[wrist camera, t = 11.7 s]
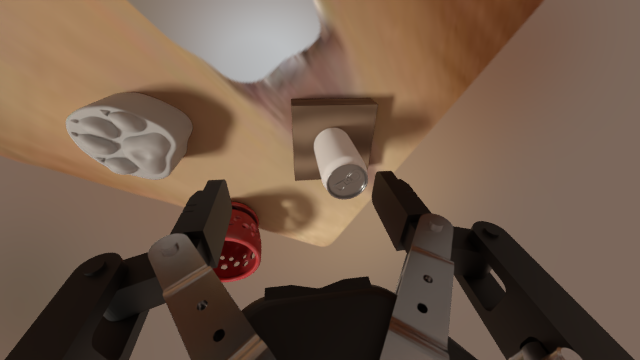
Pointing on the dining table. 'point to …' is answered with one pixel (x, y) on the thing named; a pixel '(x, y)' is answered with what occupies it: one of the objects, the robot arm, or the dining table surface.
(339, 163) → the can
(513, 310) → the robot arm
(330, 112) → the walnut stand
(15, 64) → the dining table surface
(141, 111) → the lumpy-topped squat cylinder
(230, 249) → the plant pot
